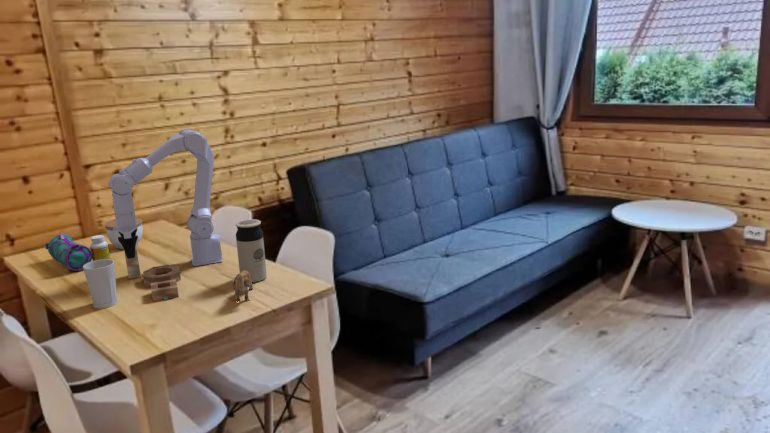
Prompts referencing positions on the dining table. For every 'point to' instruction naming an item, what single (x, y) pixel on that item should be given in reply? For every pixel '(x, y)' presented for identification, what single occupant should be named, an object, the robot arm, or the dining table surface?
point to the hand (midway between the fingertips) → (131, 254)
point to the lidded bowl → (115, 234)
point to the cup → (101, 282)
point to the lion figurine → (242, 284)
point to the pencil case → (69, 252)
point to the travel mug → (251, 249)
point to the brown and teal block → (133, 266)
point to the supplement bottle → (99, 248)
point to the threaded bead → (164, 290)
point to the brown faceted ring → (161, 274)
